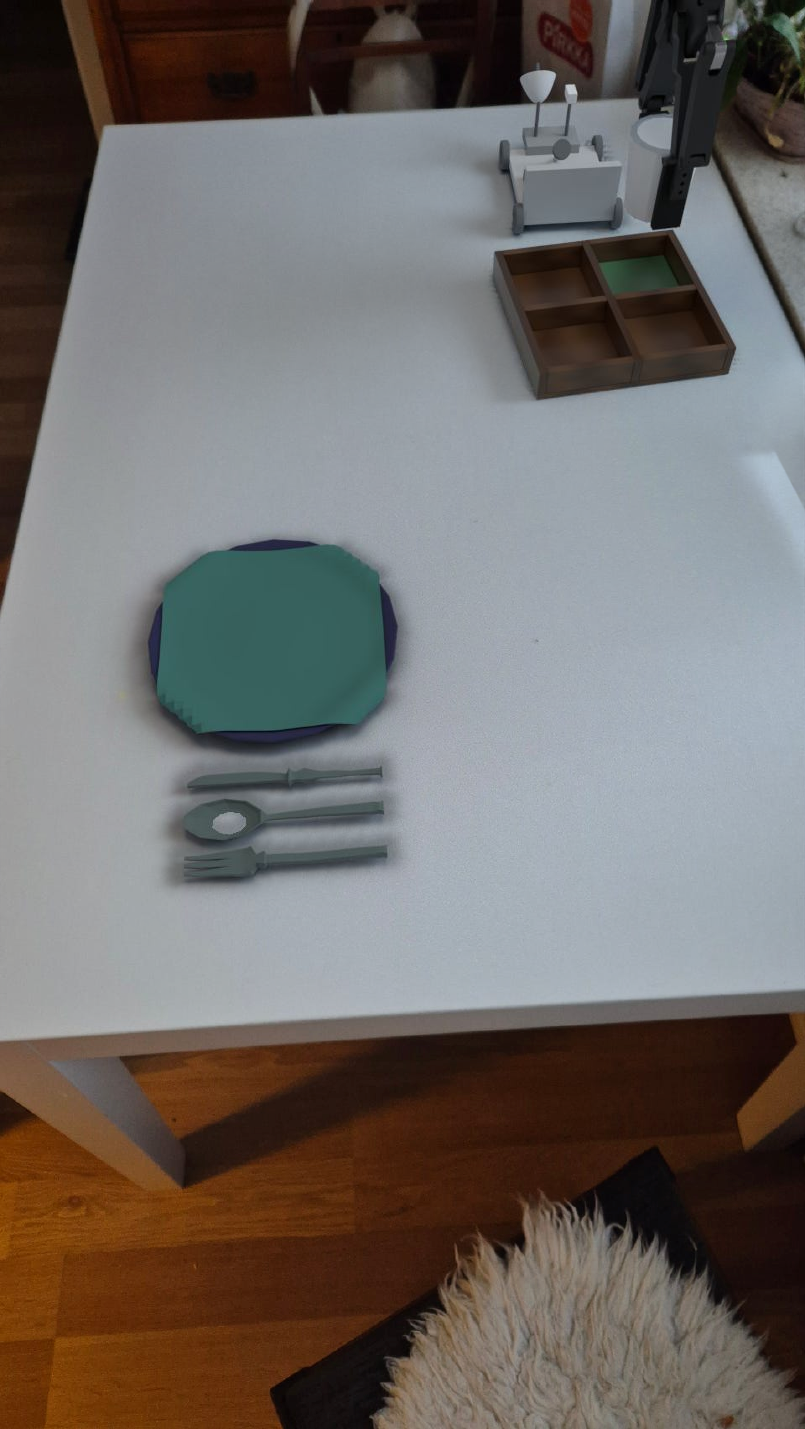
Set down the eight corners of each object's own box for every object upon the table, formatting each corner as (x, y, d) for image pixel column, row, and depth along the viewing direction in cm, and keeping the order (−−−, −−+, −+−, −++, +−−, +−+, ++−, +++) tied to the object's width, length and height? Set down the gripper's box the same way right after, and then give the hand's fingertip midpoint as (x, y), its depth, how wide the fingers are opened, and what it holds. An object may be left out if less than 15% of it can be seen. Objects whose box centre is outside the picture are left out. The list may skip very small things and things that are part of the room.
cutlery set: (390, 546, 87) (390, 528, 85) (416, 868, 71) (416, 855, 70) (160, 560, 87) (154, 542, 85) (134, 887, 71) (126, 875, 69)
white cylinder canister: (605, 194, 99) (616, 121, 93) (667, 179, 100) (683, 106, 94) (638, 233, 95) (652, 160, 89) (702, 217, 96) (720, 144, 90)
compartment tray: (667, 256, 108) (673, 229, 106) (728, 374, 98) (736, 347, 96) (492, 278, 107) (494, 251, 104) (536, 400, 97) (539, 373, 94)
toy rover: (501, 59, 111) (605, 54, 112) (495, 148, 120) (592, 143, 120) (522, 149, 102) (636, 143, 102) (515, 239, 110) (620, 233, 110)
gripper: (628, -129, 82) (587, 152, 102) (708, -18, 72) (646, 270, 92) (716, -137, 83) (659, 144, 103) (807, -28, 73) (725, 260, 92)
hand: (653, 203), depth 97 cm, fingers closed on white cylinder canister, 7 cm apart
